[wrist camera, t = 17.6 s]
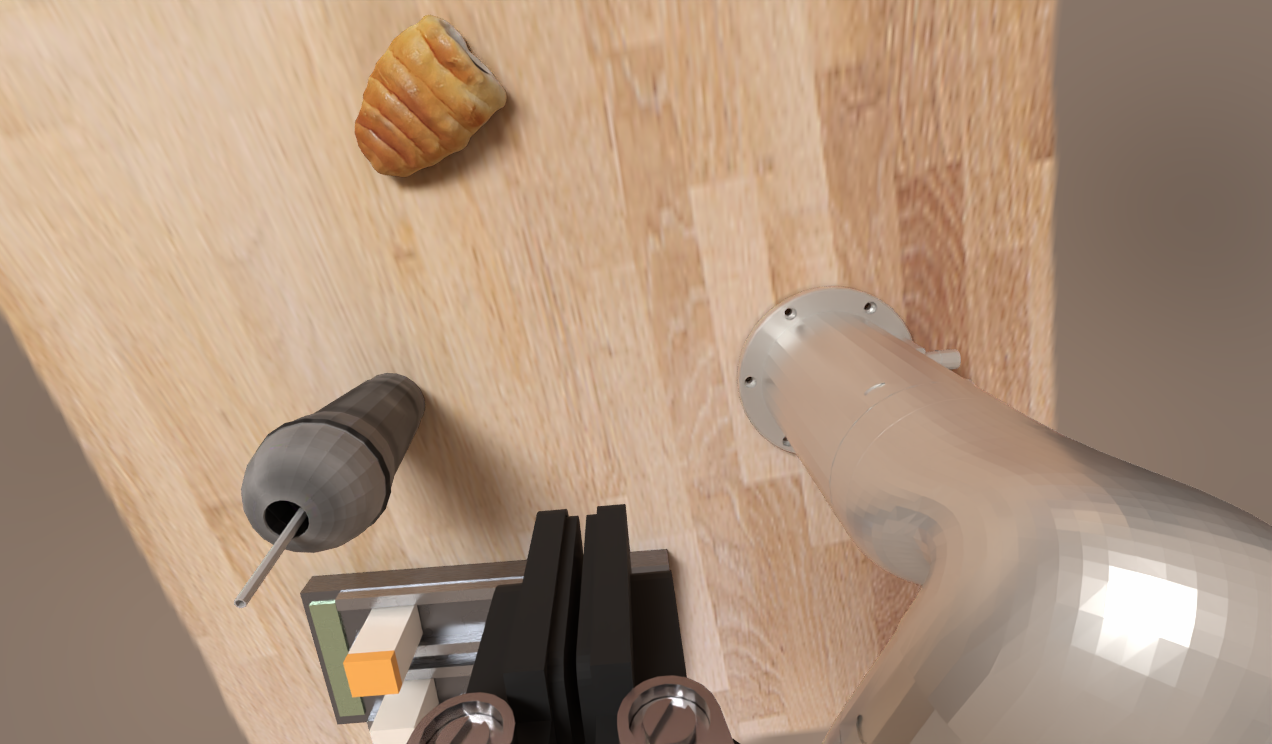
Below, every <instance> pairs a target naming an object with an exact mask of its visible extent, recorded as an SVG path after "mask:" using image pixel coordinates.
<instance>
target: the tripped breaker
mask: <svg viewBox="0 0 1272 744" xmlns="http://www.w3.org/2000/svg"><path fill="white" fill-rule="evenodd" d="M422 635H423V631H422V627H421V622H420V617H419V613H418V608H417V605H409V606H397V607H384V608H372V610H371V612H370V614H369V616H368V617H367V619H366V621H365V623H364V625H363V627H362V628H361V630H360V632H359V634H358V636H357V638H356V640H355V641H354V643H353V645H352V647H351V649H350V651H349V653H348V654H347V656H346V658H345V660H344V662H343V665H344V668H345V672H346V676H347V679H348V683H349V687H350V691H351V694H352V697H363V696H376V695H388V694H399V692H400V689H401V687H402V684H403V682H404V679H405V677H406V674H407V672H408V670H409V667H410V665H411V662H412V660H413V657H414V655H415V652H416V650H417V647H418V645H419V642H420V640H421V637H422Z"/></svg>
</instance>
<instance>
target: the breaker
mask: <svg viewBox="0 0 1272 744" xmlns="http://www.w3.org/2000/svg"><path fill="white" fill-rule="evenodd" d="M438 704H439V701H438V696H437V692H436V687H435V682H434V678H433V679H420V680H407V681H404V682H403V684H402V687H401V689H400V692H399V694H388V695H385V696H384V698H383V701H382V703H381V705H380V708H379V710H378V712H377V715H376V717H375V719H374V722H373V724H372V726H371V729H370V735H371V739H372V743H373V744H406V743H407V741H408V739H409V738H410V736H411V734H412V732H413V731H414V729H415V728H416V726H417V725H418V723H419V722H420V721H421V719H422V718H423V717H424V716H425V715H427V714H428V713H429V712H430V711H431V710H432V709H433V708H434V707H436V706H438Z"/></svg>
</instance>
